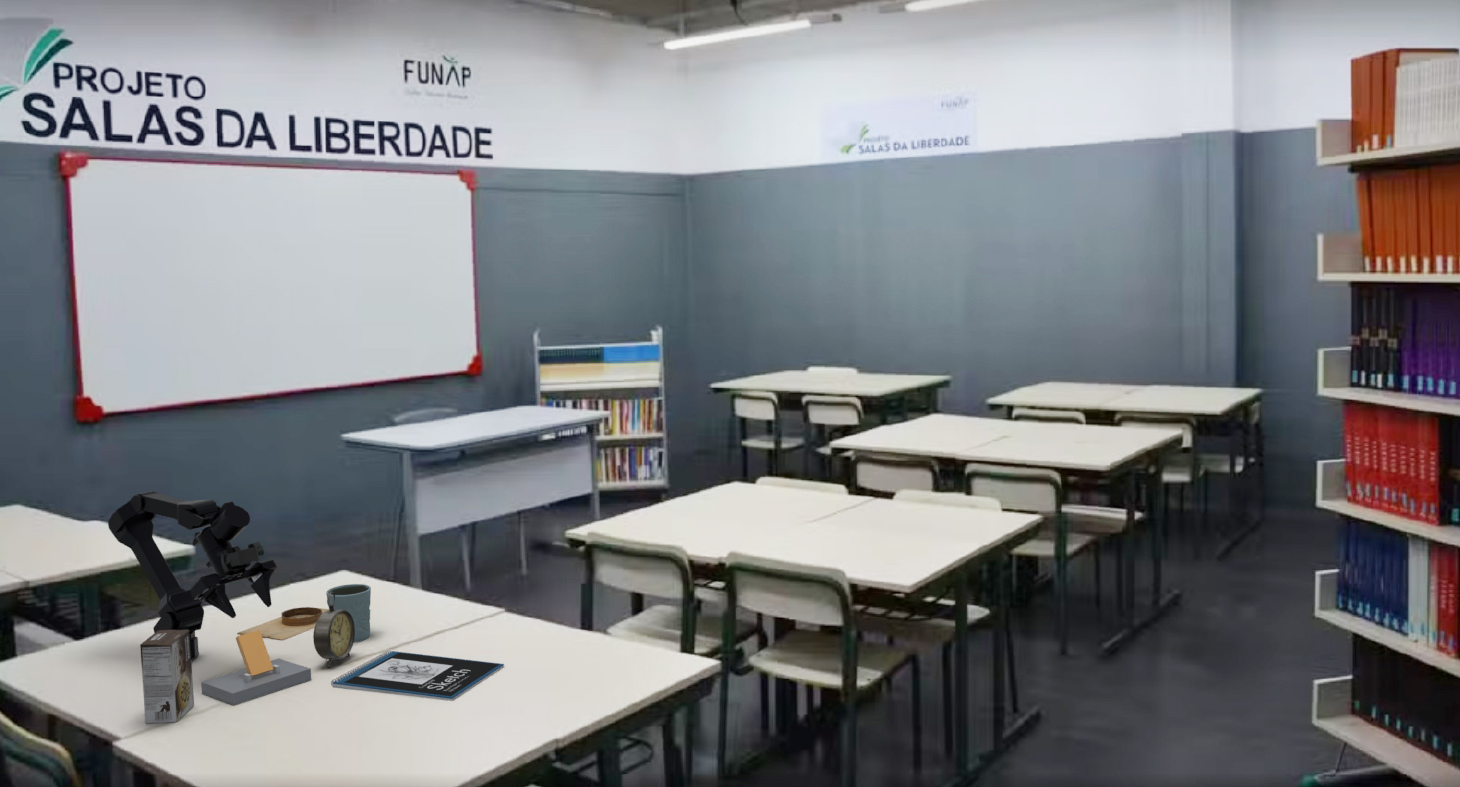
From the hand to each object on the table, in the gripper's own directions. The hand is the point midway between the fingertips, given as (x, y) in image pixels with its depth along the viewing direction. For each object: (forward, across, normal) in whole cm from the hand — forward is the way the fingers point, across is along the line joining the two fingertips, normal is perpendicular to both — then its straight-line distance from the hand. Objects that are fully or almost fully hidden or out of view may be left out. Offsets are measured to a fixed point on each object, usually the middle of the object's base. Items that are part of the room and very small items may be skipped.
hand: (252, 611), depth 249 cm
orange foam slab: (+14, -5, +1) cm, 15 cm away
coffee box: (+14, -23, +6) cm, 28 cm away
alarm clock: (+17, +14, +2) cm, 22 cm away
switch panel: (+15, -4, +4) cm, 16 cm away
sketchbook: (+32, +16, -17) cm, 39 cm away
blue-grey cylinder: (+11, +29, +10) cm, 33 cm away
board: (-2, +32, +28) cm, 43 cm away
